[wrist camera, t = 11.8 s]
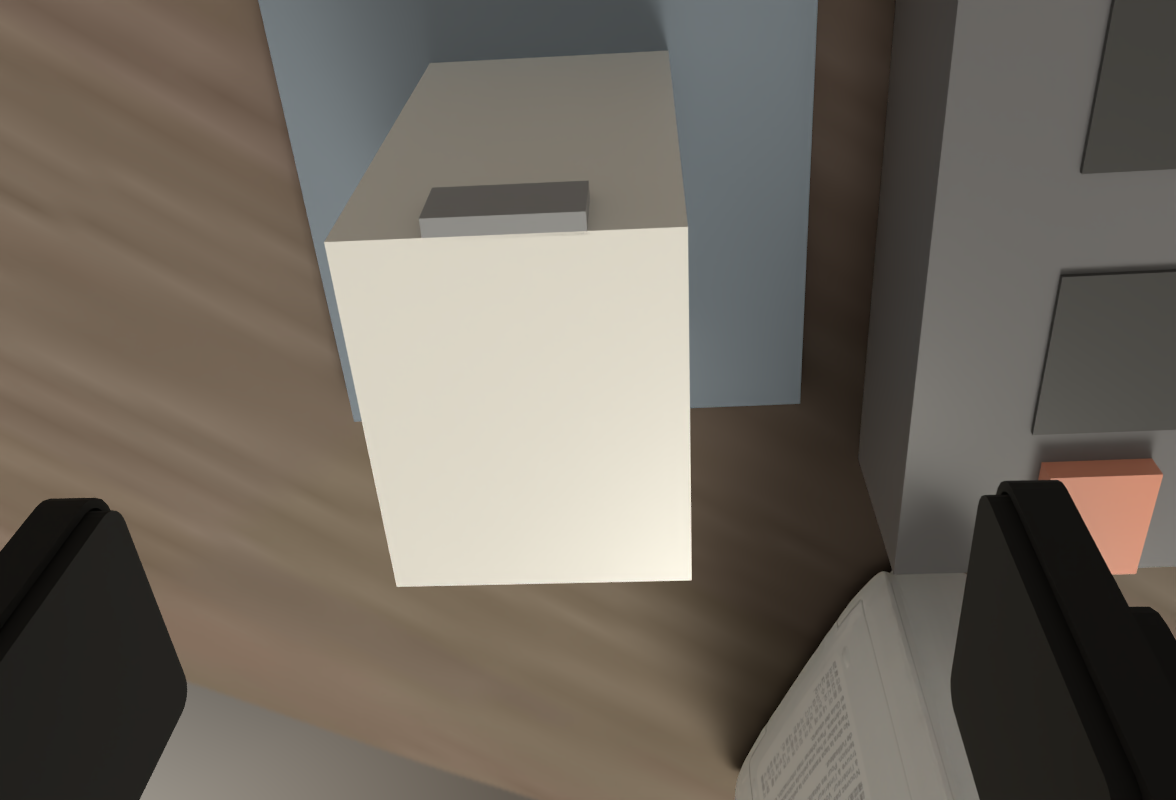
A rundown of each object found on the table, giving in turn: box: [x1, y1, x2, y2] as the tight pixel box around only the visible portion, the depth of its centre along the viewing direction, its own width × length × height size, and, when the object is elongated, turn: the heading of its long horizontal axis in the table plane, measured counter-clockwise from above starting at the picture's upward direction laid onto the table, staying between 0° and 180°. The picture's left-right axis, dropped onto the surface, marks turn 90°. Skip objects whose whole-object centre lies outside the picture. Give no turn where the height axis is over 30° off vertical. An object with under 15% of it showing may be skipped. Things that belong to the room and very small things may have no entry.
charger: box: [324, 51, 692, 587], centre depth 17 cm, size 4×6×8 cm
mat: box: [258, 0, 818, 422], centre depth 21 cm, size 10×10×1 cm
